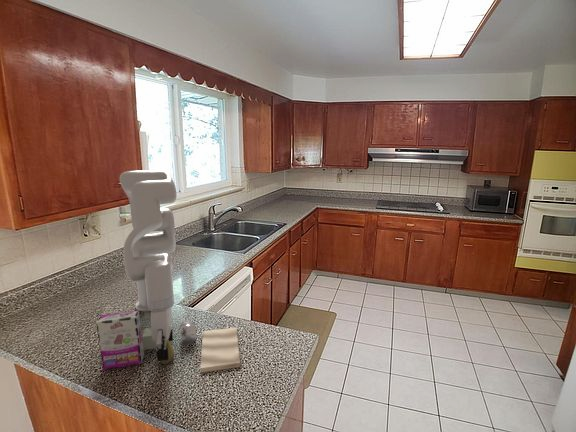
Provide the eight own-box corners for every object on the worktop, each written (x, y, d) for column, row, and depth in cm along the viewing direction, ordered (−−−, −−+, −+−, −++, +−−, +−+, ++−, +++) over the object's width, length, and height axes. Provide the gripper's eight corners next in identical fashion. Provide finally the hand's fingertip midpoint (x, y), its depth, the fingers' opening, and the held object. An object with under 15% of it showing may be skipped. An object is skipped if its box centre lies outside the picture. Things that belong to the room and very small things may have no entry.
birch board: (203, 334, 114) (203, 331, 114) (236, 330, 117) (236, 327, 116) (200, 372, 95) (200, 368, 95) (240, 366, 98) (240, 362, 97)
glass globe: (181, 336, 113) (180, 321, 112) (196, 335, 114) (195, 320, 113) (180, 345, 108) (179, 329, 107) (195, 343, 109) (194, 327, 108)
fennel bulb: (168, 367, 97) (165, 333, 95) (154, 365, 98) (150, 331, 95) (178, 355, 103) (175, 322, 100) (164, 354, 104) (161, 321, 101)
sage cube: (146, 341, 111) (145, 328, 110) (161, 339, 112) (160, 326, 111) (143, 350, 106) (141, 336, 105) (159, 348, 107) (157, 335, 106)
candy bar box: (144, 354, 103) (139, 309, 100) (142, 364, 99) (136, 317, 95) (107, 360, 100) (100, 314, 97) (102, 370, 96) (95, 322, 92)
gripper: (153, 289, 103) (157, 336, 107) (141, 316, 87) (147, 370, 91) (177, 287, 105) (180, 333, 109) (169, 313, 89) (174, 366, 92)
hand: (165, 350), depth 100 cm, fingers open, 9 cm apart
